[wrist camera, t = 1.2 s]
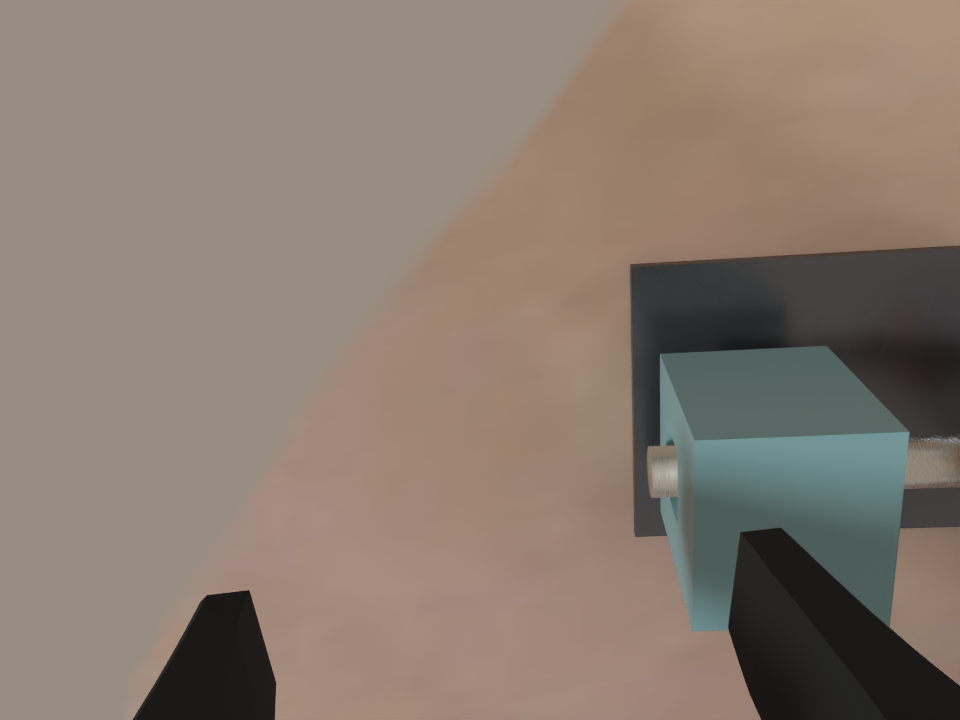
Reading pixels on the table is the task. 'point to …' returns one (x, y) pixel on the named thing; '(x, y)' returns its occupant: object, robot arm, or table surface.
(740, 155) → the table surface
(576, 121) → the table surface
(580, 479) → the table surface
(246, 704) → the robot arm
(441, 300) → the table surface
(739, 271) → the grey metal stand
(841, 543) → the teal block on rod
